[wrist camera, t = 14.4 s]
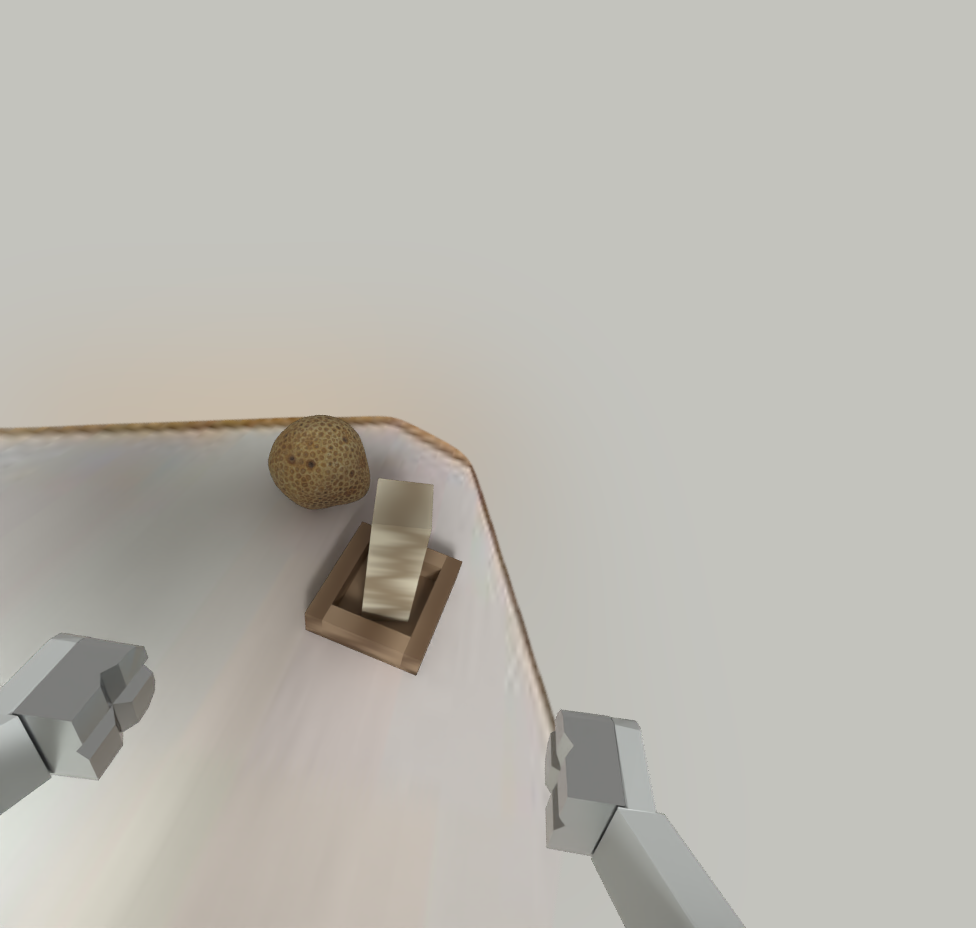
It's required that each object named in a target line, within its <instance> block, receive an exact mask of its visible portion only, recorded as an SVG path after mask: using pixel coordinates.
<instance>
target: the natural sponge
mask: <svg viewBox="0 0 976 928" xmlns="http://www.w3.org/2000/svg"><path fill="white" fill-rule="evenodd" d="M268 466H269V470H270V474H271V476H272V478H273V481H274V483H275V484H276V486H277V487H278V488H279V489H280V490H281V491H282V492H283V493H284V494H285V495H286V496H287V497H288V498H289V499H291V500H292V501H293V502H295V503H296V504H298V505H300V506H302V507H304V508H307V509H322V508H328V507H332V506H336V505H342V504H348V503H352V502H355V501H357V500H359V499H361V498H363V497H364V496H365V495H366V493H367V491H368V489H369V485H370V473H369V467H368V463H367V459H366V454H365V450H364V447H363V444H362V442H361V439H360V437H359V435H358V434H357V432H356V431H355V430H354V429H353V428H352V427H351V426H350V425H349V424H347V423H345V422H344V421H342V420H340V419H338V418H335V417H332V416H327V415H315V416H309V417H305V418H302V419H300V420H297V421H296V422H294V423H293V424H291V425H290V426H289V427H287V428H286V429H285V430H284V431H283V432H282V433H281V434H280V435H279V436H278V437H277V439H276V440H275V442H274V444H273V446H272V449H271V451H270V455H269V459H268Z"/></svg>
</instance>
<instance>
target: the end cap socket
mask: <svg viewBox="0 0 976 928" xmlns="http://www.w3.org/2000/svg"><path fill="white" fill-rule="evenodd" d="M371 527H372V525H370V524H367V523H365V522H362V523H361V525H360V526H359V528H358V529H357V531H356V533H355V534H354V536H353V537H352V539H351V541H350V542H349V544H348V545H347V547H346V549H345V550H344V552H343V553H342V555H341V556H340V558H339V560H338V561H337V563H336V564H335V566H334V568H333V569H332V571H331V572H330V574H329V576H328V577H327V579H326V580H325V582H324V583H323V585H322V587H321V588H320V590H319V591H318V593H317V595H316V596H315V598H314V599H313V601H312V602H311V604H310V606H309V607H308V609H307V610H306V612H305V625H306V630H308V631H310V632H313V633H315V634H317V635H320V636H322V637H325V638H327V639H329V640H332V641H334V642H337V643H339V644H341V645H344V646H346V647H349V648H351V649H353V650H356V651H358V652H361V653H363V654H365V655H368V656H370V657H373V658H375V659H377V660H380V661H382V662H385V663H387V664H390V665H392V666H394V667H397V668H399V669H402V670H404V671H406V672H409V673H411V674H414V675H417V672H418V670H419V667H420V665H421V663H422V660H423V658H424V655H425V653H426V651H427V648H428V646H429V643H430V641H431V639H432V636H433V634H434V631H435V629H436V627H437V624H438V622H439V619H440V617H441V614H442V612H443V610H444V607H445V605H446V602H447V600H448V598H449V595H450V593H451V590H452V588H453V586H454V583H455V581H456V578H457V575H458V573H459V570H460V567H461V564H462V561H459V560H457V559H454V558H452V557H449V556H447V555H444V554H442V553H439V552H437V551H434V550H432V549H429V548H427V549H426V553H425V557H424V561H423V565H422V569H421V573H420V576H419V580H418V584H417V588H416V592H415V596H414V600H413V604H412V608H411V611H410V615H409V619H408V622H396V621H382V620H368V619H366V618H364V617H361V614H362V605H363V597H364V588H365V579H366V571H367V562H368V553H369V545H370V536H371Z"/></svg>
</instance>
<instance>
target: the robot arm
mask: <svg viewBox="0 0 976 928" xmlns="http://www.w3.org/2000/svg"><path fill="white" fill-rule="evenodd" d="M147 659H148V655H147V653H146V650H145V647H144V646H139V645H133V644H127V643H120V642H114V641H108V640H102V639H96V638H91V637H86V636H79V635H72V634H66V633H60V634H58V635H56V636H55V637H53V638H51V639H49V640H48V641H47V642H46V643H45V644H44V645H43V646H42V647H41V648H40V649H39V650H38V651H37V652H36V653H35V654H34V655H33V656H32V657H31V658H30V659H29V660H28V661H27V662H26V663H25V664H24V665H23V666H22V667H21V669H20V670H19V671H18V672H17V673H16V674H15V675H14V676H13V677H12V678H11V679H10V680H9V681H8V682H7V683H6V684H5V685H4V686H3V687H2V688H1V689H0V815H1V814H2V813H4V812H5V811H6V810H8V809H9V808H11V807H12V806H13V805H15V804H16V803H17V802H19V801H20V800H21V799H23V798H24V797H26V796H27V795H28V794H30V793H31V792H32V791H34V790H35V789H36V788H38V787H39V786H41V785H42V784H43V783H45V782H46V781H47V780H49V779H50V778H51V775H58V776H67V777H75V778H83V779H91V780H99V779H100V778H101V776H102V775H103V773H104V772H105V770H106V769H107V767H108V766H109V765H110V763H111V762H112V760H113V759H114V757H115V756H116V754H117V753H118V752H119V750H120V749H121V747H122V746H123V732H124V731H126V730H127V729H129V728H130V727H132V726H133V725H135V724H137V723H138V722H139V721H140V719H141V718H142V716H143V715H144V713H145V712H146V710H147V709H148V707H149V705H150V702H151V699H152V697H153V694H154V690H155V678H154V675H153V672H152V671H151V670H149V669H148V668H147V667H146V666H145V665H144V663H145V661H146V660H147ZM555 727H556V731H554V732H552V733H551V734H550V737H549V741H548V744H547V751H546V758H545V785H546V786H547V788H548V790H549V791H550V793H551V795H550V798H549V801H548V804H547V806H546V847H547V848H548V849H554V850H559V851H565V852H570V853H576V854H582V855H587V856H592V858H591V860H592V862H593V864H594V866H595V868H596V870H597V872H598V874H599V876H600V878H601V880H602V882H603V884H604V886H605V888H606V890H607V892H608V894H609V896H610V898H611V900H612V902H613V904H614V906H615V908H616V910H617V912H618V914H619V916H620V918H621V920H622V922H623V924H624V926H625V927H626V928H746V927H745V926H744V924H743V923H742V922H741V920H740V919H739V918H738V916H737V915H736V913H735V912H734V910H733V909H732V908H731V906H730V905H729V903H728V902H727V901H726V899H725V898H724V897H723V895H722V894H721V892H720V891H719V890H718V888H717V887H716V885H715V884H714V883H713V881H712V880H711V879H710V877H709V876H708V874H707V873H706V871H705V870H704V869H703V867H702V866H701V864H700V863H699V862H698V860H697V859H696V858H695V856H694V855H693V853H692V852H691V850H690V849H689V848H688V847H687V845H686V843H685V842H684V841H683V839H682V838H681V837H680V835H679V834H678V832H677V831H676V830H675V828H674V827H673V825H672V824H671V823H670V821H669V820H668V818H667V817H666V816H665V814H662V813H657V812H656V807H655V802H654V797H653V792H652V786H651V781H650V776H649V770H648V765H647V760H646V755H645V750H644V744H643V739H642V734H641V728H640V726H639V724H638V723H637V722H636V721H634V720H628V719H621V718H613V717H609V716H604V715H597V714H590V713H582V712H575V711H567V710H560V711H559V712H558V714H557V716H556V719H555Z"/></svg>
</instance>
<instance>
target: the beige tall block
mask: <svg viewBox="0 0 976 928" xmlns="http://www.w3.org/2000/svg"><path fill="white" fill-rule="evenodd" d="M432 508H433V485H431V484H423V483H415V482H406V481H398V480H389V479H381V478H378V484H377V491H376V498H375V505H374V512H373V520H372V527H371V536H370V545H369V553H368V562H367V571H366V579H365V588H364V597H363V605H362V614H361V617H364V618H366V619H368V620H382V621H396V622H408V619H409V615H410V611H411V608H412V604H413V600H414V596H415V592H416V588H417V584H418V580H419V576H420V573H421V569H422V565H423V561H424V557H425V553H426V549H427V545H428V541H429V537H430V534H431V530H432Z"/></svg>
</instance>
